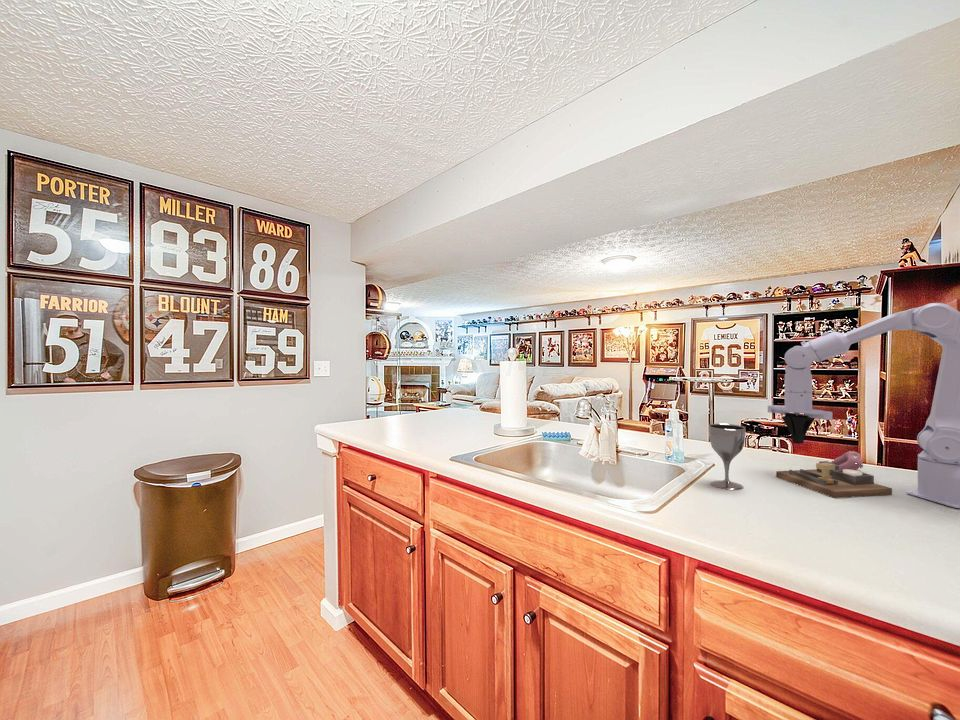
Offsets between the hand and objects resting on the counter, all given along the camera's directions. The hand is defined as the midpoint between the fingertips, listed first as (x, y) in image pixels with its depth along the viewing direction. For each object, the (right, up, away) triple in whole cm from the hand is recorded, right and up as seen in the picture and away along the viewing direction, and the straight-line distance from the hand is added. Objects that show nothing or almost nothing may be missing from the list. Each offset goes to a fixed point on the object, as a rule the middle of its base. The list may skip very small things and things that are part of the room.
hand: (798, 443), depth 107 cm
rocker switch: (+8, -6, -1) cm, 10 cm away
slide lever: (0, -8, -8) cm, 11 cm away
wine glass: (-22, -10, -4) cm, 24 cm away
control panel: (+4, -10, -5) cm, 12 cm away
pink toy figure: (+18, -9, +6) cm, 21 cm away
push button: (+8, -8, -7) cm, 13 cm away
